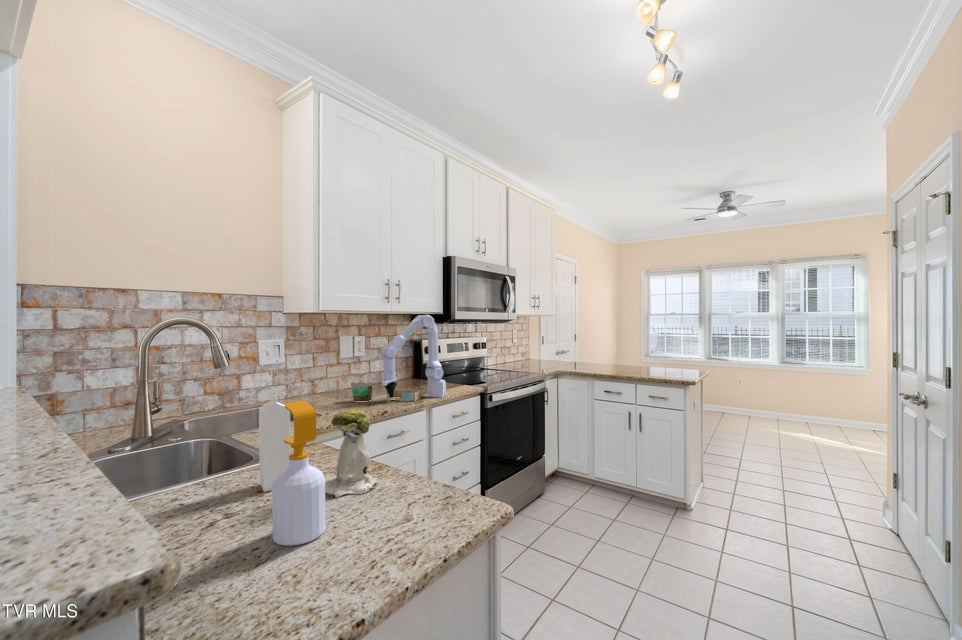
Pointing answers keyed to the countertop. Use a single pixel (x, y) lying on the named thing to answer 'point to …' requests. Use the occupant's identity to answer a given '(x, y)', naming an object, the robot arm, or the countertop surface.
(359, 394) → the food container
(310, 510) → the soap bottle
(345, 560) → the countertop surface
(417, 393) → the carton
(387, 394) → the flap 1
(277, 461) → the white gable-top box
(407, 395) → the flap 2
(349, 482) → the tree figurine
